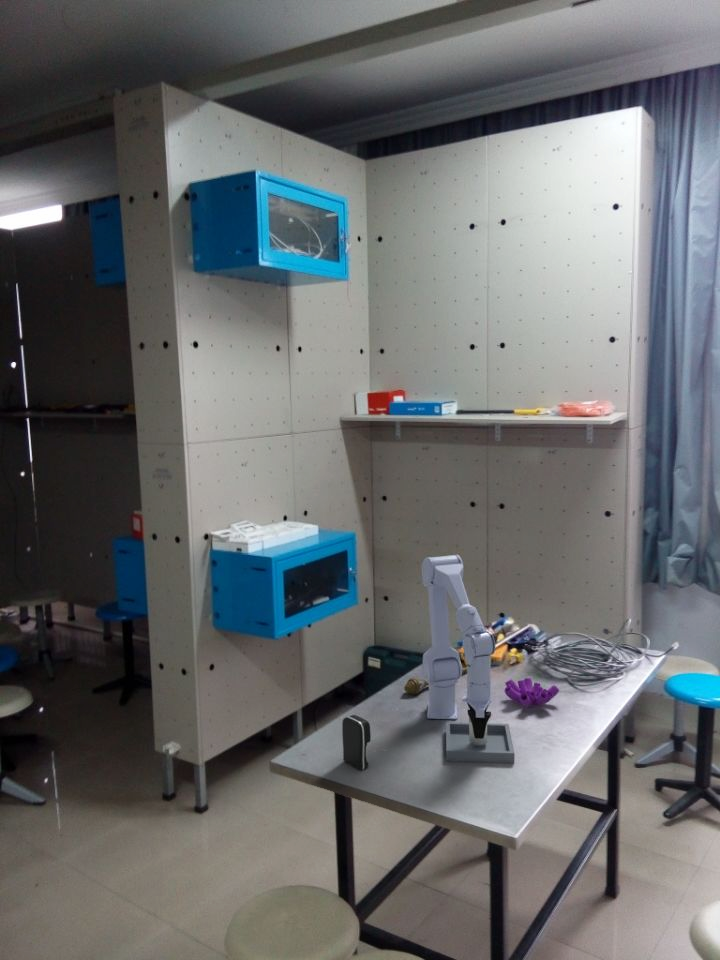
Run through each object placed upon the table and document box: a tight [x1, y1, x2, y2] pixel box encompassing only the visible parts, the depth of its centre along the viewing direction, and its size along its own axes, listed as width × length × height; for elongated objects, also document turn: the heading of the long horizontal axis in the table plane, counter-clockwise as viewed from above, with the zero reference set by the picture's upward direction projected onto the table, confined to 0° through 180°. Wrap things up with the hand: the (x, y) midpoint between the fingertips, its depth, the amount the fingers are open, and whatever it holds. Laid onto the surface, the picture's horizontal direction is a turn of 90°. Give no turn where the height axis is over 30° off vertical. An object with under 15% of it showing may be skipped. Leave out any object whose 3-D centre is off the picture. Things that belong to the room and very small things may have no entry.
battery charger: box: [341, 714, 372, 771], centre depth 180 cm, size 7×4×11 cm, turn 41°
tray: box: [445, 721, 515, 764], centre depth 188 cm, size 16×16×2 cm
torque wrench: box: [403, 666, 467, 696], centre depth 232 cm, size 5×35×5 cm
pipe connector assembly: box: [503, 677, 560, 708], centre depth 213 cm, size 11×15×10 cm
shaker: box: [468, 717, 487, 745], centre depth 188 cm, size 4×4×6 cm
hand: (478, 733), depth 188 cm, fingers closed on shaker, 4 cm apart
